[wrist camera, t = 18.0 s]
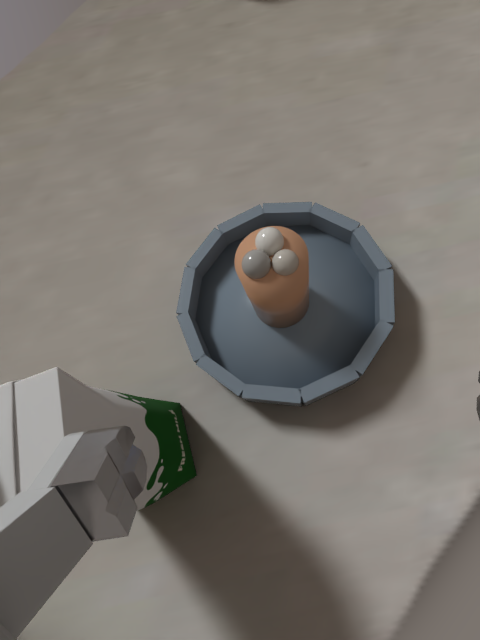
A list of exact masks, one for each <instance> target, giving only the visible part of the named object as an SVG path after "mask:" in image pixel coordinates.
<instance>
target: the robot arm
mask: <svg viewBox="0 0 480 640" xmlns="http://www.w3.org/2000/svg"><path fill="white" fill-rule="evenodd" d="M478 382H479V383H480V371H479V379H478ZM477 413H478V416H479V420H480V395H479V396H478V397H477ZM134 440H135V436H134V434H133V432H132V430H131V428H130V427H128V426H125V425H124V426H117V427H110V428H103V429H96V430H89V431H84V432H78V433H71V434H69V435H67V436H65V437H64V438H63V439H62V440H61V442H60V443H59V445H58V446H57V448H56V449H55V451H54V452H53V454H52V455H51V456H50V458H49V459H48V461H47V462H46V464H45V465H44V467H43V468H42V469H41V471H40V472H39V474H38V475H37V477H36V478H35V480H34V481H33V482H32V484H31V485H30V487H29V488H28V490H27V491H23V492H20V493H18V494H17V495H16V496H14V497H13V498H12V499H11V500H9V501H8V502H7V503H5V504H4V505H3V506H1V507H0V640H17V639H16V638H17V637H18V636H19V635H20V633H21V632H22V631H23V630H24V628H25V627H26V626H27V625H28V623H29V622H30V621H31V620H32V618H33V617H34V616H35V615H36V614H37V612H38V611H39V610H40V609H41V607H42V606H43V605H44V604H45V602H46V601H47V600H48V599H49V597H50V596H51V595H52V594H53V593H54V591H55V590H56V589H57V588H58V586H59V585H60V584H61V583H62V581H63V580H64V579H65V578H66V576H67V575H68V574H69V573H70V571H71V570H72V569H73V568H74V567H75V565H76V564H77V563H78V562H79V560H80V559H81V558H82V557H83V555H84V554H85V553H86V552H87V550H88V549H89V548H90V547H91V546H92V544H93V543H92V542H93V541H99V540H106V539H112V538H119V537H125V536H128V535H129V532H130V529H131V526H132V523H133V520H134V517H135V514H136V511H137V505H136V503H135V500H134V499H135V498H136V497H137V496H138V495H139V494H140V493H141V492H142V491H143V489H144V486H145V483H146V480H147V464H146V459H145V456H144V454H143V452H142V450H141V449H139V448H137V447H136V446H134V445H133V442H134Z"/></svg>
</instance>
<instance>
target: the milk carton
mask: <svg viewBox="0 0 480 640" xmlns="http://www.w3.org/2000/svg"><path fill="white" fill-rule="evenodd" d="M124 425H125V426H128V427H130V428H131V430H132V432H133V434H134V436H135V440H134V442H133V445H134V446H136V447H137V448H139V449H141V450H142V452H143V454H144V456H145V459H146V464H147V480H146V483H145V486H144V489H143V491H142V492H141V493H140V494H139V495H138V496H137V497H136V498H135V499H134V500H135V503H136V505H137V511H138V510H140V509H143V508H145V507H147V506H148V505H150V504H152V503H154V502H156V501H158V500H159V499H161V498H162V497H164V496H165V495H167V494H169V493H170V492H172V491H173V490H175V489H176V488H178V487H180V486H181V485H183V484H184V483H186V482H187V481H189V480H190V479H192V478H194V477H195V476H197V474H196V470H195V466H194V462H193V457H192V453H191V449H190V445H189V440H188V436H187V432H186V428H185V423H184V419H183V415H182V411H181V406H180V403H175V402H168V401H162V400H155V399H149V398H142V397H137V396H132V395H128V394H123V393H119V392H114V391H109V390H105V389H100V388H95V387H91V386H87V385H85V384H83V383H82V382H80V381H79V380H77V379H75V378H74V377H72V376H71V375H69V374H67V373H66V372H64V371H63V370H61V369H60V368H58V367H55V368H52V369H49V370H47V371H44V372H42V373H39V374H36V375H34V376H31V377H28V378H26V379H23V380H17V381H11V382H8V383H5V384H2V385H0V507H1V506H3V505H4V504H5V503H7V502H8V501H9V500H11V499H12V498H13V497H14V496H16V495H17V494H18V493H20V492H23V491H27V490H28V488H29V487H30V485H31V484H32V482H33V481H34V480H35V478H36V477H37V475H38V474H39V472H40V471H41V469H42V468H43V467H44V465H45V464H46V462H47V461H48V459H49V458H50V456H51V455H52V454H53V452H54V451H55V449H56V448H57V446H58V445H59V443H60V442H61V440H62V439H63V438H64V437H65V436H67V435H69V434H71V433H78V432H84V431H89V430H96V429H103V428H110V427H117V426H124Z"/></svg>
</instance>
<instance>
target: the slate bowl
mask: <svg viewBox="0 0 480 640" xmlns="http://www.w3.org/2000/svg"><path fill="white" fill-rule="evenodd" d="M217 226H218V229H219V230H218V229H216V228H214V229H213V230H212V232H211V233H210V234H209V235H208V237H207V238H206V239H205V241H204V242H203V243H202V244H201V246H200V247H199V248H198V249H197V251H196V252H195V253H194V255H193V256H192V257H191V258H190V260H189V261H188V262H187V263H186V265H187V267H184V273H183V278H182V284H181V289H180V295H179V300H178V306H177V312H176V313H177V314H178V316H177V319H178V321H179V324H180V327H181V329H182V332H183V334H184V337H185V340H186V342H187V345H188V348H189V350H190V353H191V355H192V358H193V361H194V362H196V365H198V366H199V367H200V368H202V369H203V370H204V371H206V372H207V373H208V374H210V375H211V376H212V377H214V378H215V379H216V380H218V381H219V382H220V383H222V384H223V385H224V386H225V387H227V388H228V389H229V390H231V391H232V392H233V393H235V394H236V395H237V396H239V397H241V398H243V399H245V400H248V401H251V402H261V403H271V404H281V405H291V406H301V407H302V403H304V404H305V406H306V405H308V404H311V403H313V402H315V401H317V400H319V399H321V398H323V397H326V396H328V395H330V394H332V393H334V392H336V391H338V390H341V389H343V388H345V387H347V386H349V385H351V384H353V383H355V382H356V381H357V380H358V379H359V378H360V377H361V376H362V374H363V373H364V371H365V370H366V368H367V367H368V365H369V364H370V362H371V361H372V359H373V357H374V356H375V354H376V353H377V351H378V350H379V348H380V347H381V345H382V343H383V342H384V340H385V339H386V337H387V336H388V334H389V333H390V331H391V329H392V328H393V324H394V323H395V313H394V277H393V269H391V267H392V265H391V264H390V262H389V261H388V260H387V258H386V257H385V255H384V254H383V253H382V251H381V250H380V248H379V247H378V246H377V244H376V243H375V241H374V240H373V239H372V237H371V236H370V234H369V233H368V232H367V230H366V229H365V227H364V226H363V225H362V226H360V223H359V222H357V221H355V220H353V219H350V218H348V217H346V216H344V215H342V214H339V213H337V212H335V211H333V210H331V209H328V208H326V207H324V206H322V205H320V204H317V203H314V205H313V206H312V202H293V203H263V209H262V207H261V205H258V206H256V207H253V208H251V209H249V210H247V211H245V212H243V213H241V214H239V215H237V216H235V217H233V218H231V219H229V220H227V221H225V222H223V223H221V224H219V225H217ZM268 226H281V227H285V228H288V229H291V230H293V231H294V232H296V233H297V234H298V235H299V236H300V237H301V238H302V239H303V240H304V242H305V244H306V246H307V249H308V256H309V307H308V310H307V313H306V314H305V316H304V317H303V318H302V319H301V320H300V321H299V322H298V323H296V324H294V325H292V326H290V327H286V328H275V327H271V326H269V325H267V324H265V323H264V322H262V321H261V320H260V319H259V318H258V316H257V314H256V313H255V311H254V308H253V306H252V304H251V302H250V300H249V298H248V296H247V294H246V292H245V290H244V287H243V285H242V283H241V281H240V279H239V277H238V275H237V272H236V270H235V263H234V261H235V254H236V251H237V249H238V247H239V245H240V243H241V242H242V241H243V240H244V238H246V237H247V236H248V235H249V234H250V233H252V232H254V231H255V230H258V229H260V228H263V227H268ZM359 226H360V227H359Z"/></svg>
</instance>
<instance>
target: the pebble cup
mask: <svg viewBox="0 0 480 640" xmlns="http://www.w3.org/2000/svg"><path fill="white" fill-rule="evenodd" d="M234 263H235V270H236V272H237V275H238V277H239V279H240V281H241V283H242V285H243V287H244V290H245V292H246V294H247V296H248V298H249V300H250V302H251V304H252V306H253V308H254V311H255V313H256V314H257V316H258V318H259V319H260V320H261V321H262V322H264V323H265V324H267V325H269V326H271V327H275V328H286V327H290V326H292V325H294V324H296V323H298V322H299V321H300V320H301V319H302V318H303V317H304V316H305V314H306V313H307V310H308V307H309V256H308V249H307V246H306V244H305V242H304V240H303V239H302V238H301V237H300V236H299V235H298V234H297V233H296V232H294V231H293V230H291V229H288V228H285V227H281V226H268V227H263V228H260V229H258V230H255V231H254V232H252V233H250V234H249V235H248V236H247V237H246V238H244V240H243V241H242V242H241V243H240V245H239V247H238V249H237V251H236V254H235V261H234Z"/></svg>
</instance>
